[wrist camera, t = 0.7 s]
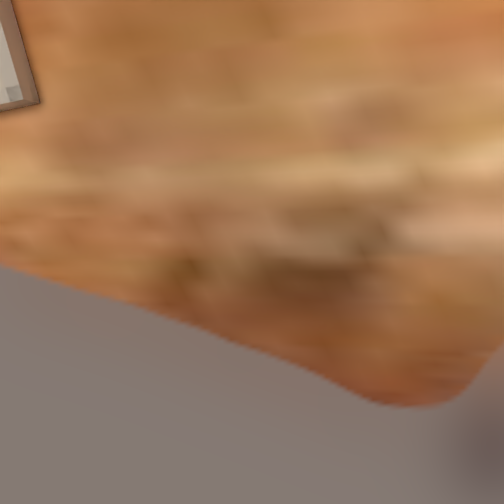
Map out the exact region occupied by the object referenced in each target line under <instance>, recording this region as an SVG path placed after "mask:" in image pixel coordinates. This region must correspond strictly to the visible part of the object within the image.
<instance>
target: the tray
mask: <svg viewBox="0 0 504 504" xmlns="http://www.w3.org/2000/svg"><path fill="white" fill-rule="evenodd" d="M38 103H40V100H39V97H38V94H37V90H36V87H35V83H34V80H33V76H32V73H31V69H30V66H29V62H28V59H27V55H26V52H25V48H24V45H23V42H22V38H21V35H20V31H19V28H18V24H17V21H16V17H15V14H14V10H13V7H12V3H11V0H0V112H1V111H6V110H10V109H15V108H20V107H24V106H29V105H33V104H38Z"/></svg>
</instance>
